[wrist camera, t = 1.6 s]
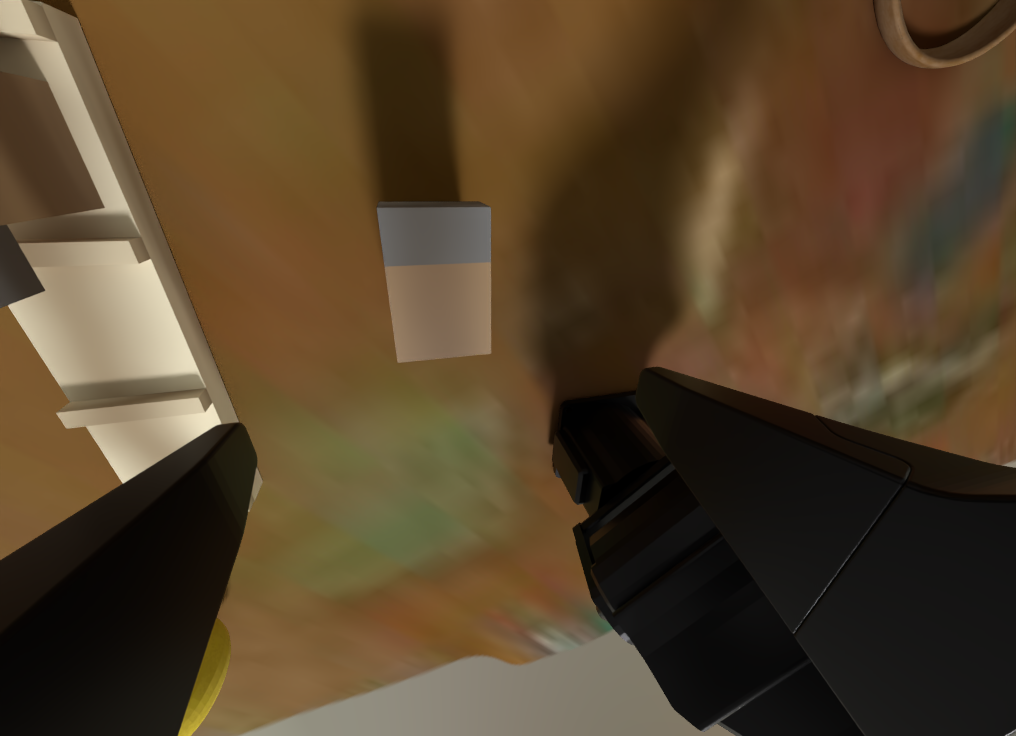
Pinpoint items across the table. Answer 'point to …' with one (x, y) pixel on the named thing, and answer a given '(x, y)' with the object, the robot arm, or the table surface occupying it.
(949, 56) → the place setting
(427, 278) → the gray and beige block
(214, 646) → the lemon
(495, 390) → the table surface
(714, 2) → the table surface
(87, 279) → the rail
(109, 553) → the robot arm
